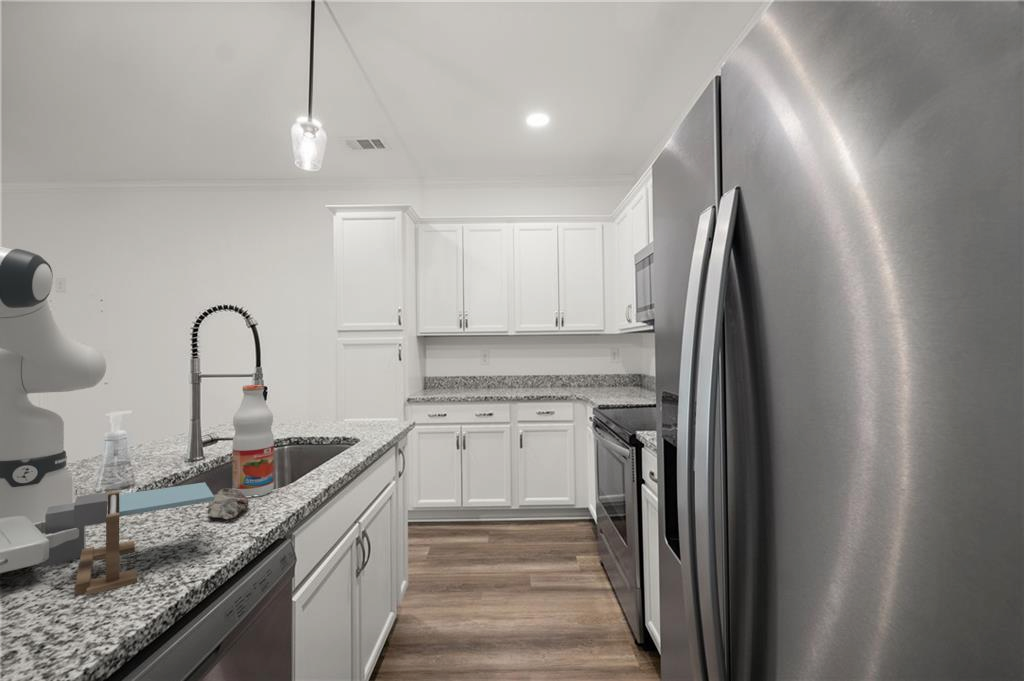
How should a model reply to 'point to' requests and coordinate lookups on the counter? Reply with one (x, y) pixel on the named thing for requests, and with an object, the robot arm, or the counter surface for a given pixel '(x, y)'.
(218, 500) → the mineral rock
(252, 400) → the fruit juice
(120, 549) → the post frame
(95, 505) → the trapdoor
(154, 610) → the counter surface
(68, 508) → the basalt block
